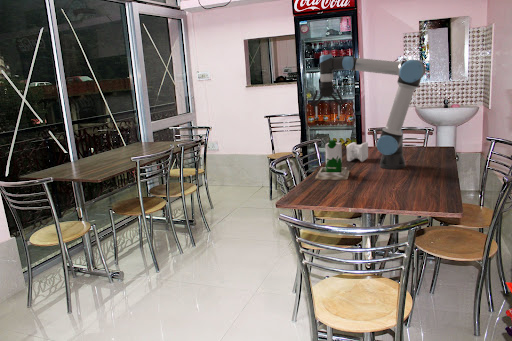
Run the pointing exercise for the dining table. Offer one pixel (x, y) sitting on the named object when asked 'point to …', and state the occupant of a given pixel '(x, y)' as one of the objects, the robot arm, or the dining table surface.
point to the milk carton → (333, 157)
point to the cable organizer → (357, 151)
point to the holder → (332, 174)
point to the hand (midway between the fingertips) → (327, 116)
